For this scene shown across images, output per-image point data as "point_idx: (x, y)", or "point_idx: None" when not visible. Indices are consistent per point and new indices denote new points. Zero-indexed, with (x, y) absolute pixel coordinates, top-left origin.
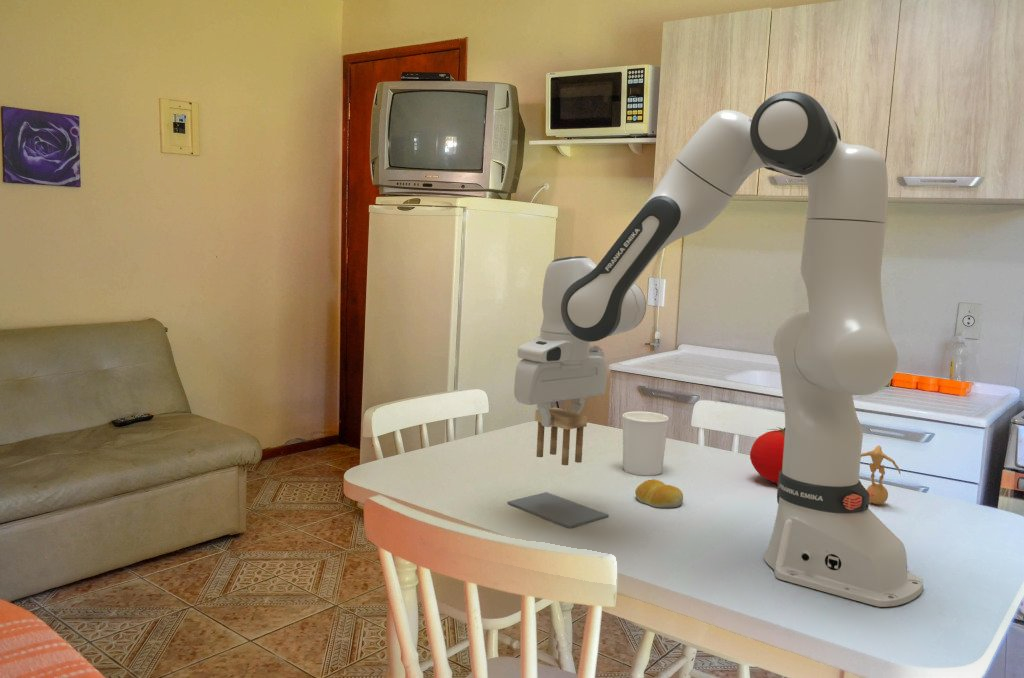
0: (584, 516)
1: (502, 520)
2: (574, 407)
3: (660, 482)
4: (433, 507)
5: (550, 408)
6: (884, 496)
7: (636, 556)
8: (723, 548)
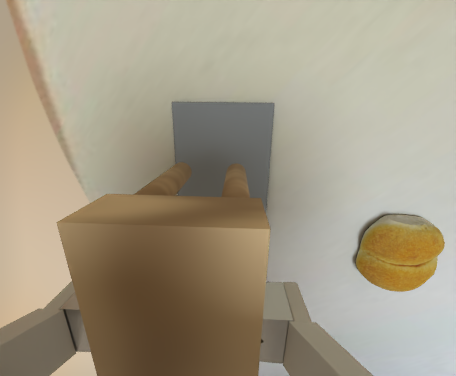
0: None
1: (117, 162)
2: (312, 366)
3: (423, 261)
4: (39, 28)
5: (201, 238)
6: None
7: None
8: (279, 367)
